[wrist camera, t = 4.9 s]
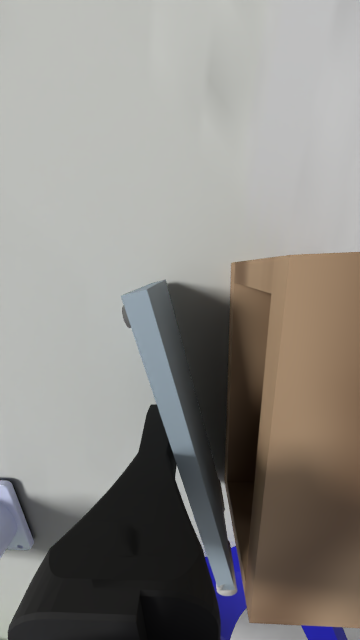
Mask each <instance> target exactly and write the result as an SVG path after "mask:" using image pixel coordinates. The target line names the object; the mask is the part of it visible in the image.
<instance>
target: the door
mask: <svg viewBox="0 0 360 640" xmlns="http://www.w3.org/2000/svg"><path fill="white" fill-rule="evenodd" d="M121 298H122V301H123V304H124V306H123V308H122V314H123V318H124V321H125V323H126V325H127V326H128V327H129V328H132V331H133V334H134V337H135V340H136V343H137V346H138V349H139V352H140V355H141V358H142V361H143V364H144V367H145V370H146V373H147V376H148V379H149V382H150V385H151V388H152V391H153V394H154V397H155V400H156V403H157V406H158V409H159V412H160V415H161V418H162V421H163V424H164V427H165V430H166V433H167V436H168V439H169V443H170V446H171V449H172V452H173V455H174V458H175V461H176V464H177V467H178V470H179V473H180V476H181V479H182V482H183V485H184V488H185V491H186V494H187V497H188V500H189V503H190V506H191V509H192V512H193V515H194V518H195V521H196V524H197V527H198V530H199V533H200V536H201V539H202V542H203V545H204V548H205V551H206V554H207V557H208V560H209V563H210V566H211V569H212V572H213V575H214V578H215V581H216V588H217V592H218V593H219V594H220V595H223V596H232V595H234V594H236V593H237V585H236V579H235V572H234V566H233V560H232V553H231V547H230V542H229V541H228V539H227V532H226V525H225V518H224V510H225V508H224V502H223V495H222V489H221V482H220V480H219V479H218V476H217V472H216V468H215V464H214V461H213V457H212V453H211V449H210V446H209V442H208V438H207V434H206V430H205V427H204V423H203V419H202V415H201V412H200V408H199V404H198V400H197V396H196V393H195V389H194V385H193V381H192V378H191V374H190V370H189V366H188V362H187V359H186V355H185V351H184V347H183V344H182V340H181V336H180V332H179V328H178V325H177V321H176V317H175V313H174V310H173V306H172V302H171V298H170V294H169V291H168V287H167V283H166V280H163V281H159V282H155V283H151V284H149V285H146V286H144V287H141V288H139V289H136V290H134V291H131V292H129V293H127V294H124V295H122V296H121Z"/></svg>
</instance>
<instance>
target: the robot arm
mask: <svg viewBox="0 0 360 640" xmlns="http://www.w3.org/2000/svg"><path fill="white" fill-rule="evenodd" d="M176 465H177V464H176V461H175V458H174V455H173V452H172V449H171V446H170V443H169V439H168V436H167V433H166V430H165V427H164V424H163V421H162V418H161V415H160V412H159V409H158V406H157V405H151V406H150V408H149V410H148V412H147V416H146V420H145V425H144V430H143V434H142V439H141V444H140V448H139V452H138V454H137V455H136V456H135V458H134V459H133V461H132V462H131V463H130V465H129V466H128V467H127V469H126V470H125V471H124V472H123V474H122V475H121V476H120V477H119V478H118V480H117V481H116V482H115V483H114V485H113V486H112V487H111V488H110V489H109V490H108V491H107V493H106V494H105V495H104V496H103V497H102V498H101V499H100V500H99V501H98V502H97V503H96V504H95V505H94V506H93V507H92V509H91V510H90V511H89V512H88V513H87V514H86V515H85V516H84V517H83V518H82V519H81V520H80V521H79V522H78V523H77V524H76V525H74V526H73V527H72V528H71V529H70V530H69V531H68V532H67V533H66V534H65V535H64V536H63V537H62V538H61V539H60V540H59V541H58V542H57V543H55V544H54V545H53V546H52V547H51V548H50V549H49V551H48V553H47V555H46V556H45V558H44V560H43V562H42V563H41V565H40V567H39V568H38V570H37V572H36V574H35V576H34V577H33V579H32V581H31V583H30V585H29V587H28V589H27V591H26V593H25V595H24V597H23V599H22V601H21V603H20V605H19V607H18V609H17V611H16V613H15V615H14V617H13V619H12V621H11V623H10V625H9V630H8V640H220V637H221V619H220V612H219V606H218V601H217V597H216V593H215V590H214V586H213V583H212V579H211V576H210V573H209V570H208V566H207V563H206V560H205V557H204V553H203V549H202V547H201V544H200V542H199V540H198V538H197V535H196V533H195V531H194V528H193V526H192V524H191V521H190V519H189V516H188V514H187V511H186V509H185V506H184V503H183V501H182V498H181V495H180V492H179V489H178V487H177V484H176V481H175V473H176ZM33 544H34V540H33V538H32V535H31V532H30V530H29V527H28V524H27V522H26V519H25V517H24V514H23V511H22V509H21V506H20V503H19V501H18V498H17V496H16V493H15V490H14V488H13V485H12V483H11V482H9V481H6V480H0V558H1V557H2V555H3V554H4V552H5V551H6V549H7V550H29V549H31V547H32V545H33Z"/></svg>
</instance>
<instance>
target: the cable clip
mask: <svg viewBox="0 0 360 640" xmlns="http://www.w3.org/2000/svg"><path fill="white" fill-rule="evenodd" d="M231 553H232V560H233V566H234V572H235V579H236V585H237V593H236V594H234V595H232V596H223V595H220V594H219V593H218V592H217V588H216V581H215V578H214V575H213V572H212V569H211V566H210V563H209V560H208V557H205V560H206V563H207V566H208V570H209V573H210V576H211V579H212V583H213V586H214V590H215V593H216V597H217V601H218V606H219V612H220V619H221V637H220V640H230V638H231V635H232V631H233V629H234V627H235V624H236V622H237V620H238V619H239V617H240V615H241V614H242V612H243V611H244V610H245V609H246V608H247V605H246V600H245V594H244V588H243V583H242V577H241V571H240V565H239V560H238V554H237V548H236V546H235V547H232V548H231ZM301 626H302V628H303V630H304V632H305V634H306V636H307V638H308V640H347V637H346V635H345V633H344V630H343V628H342V627H326V626H305V625H301Z"/></svg>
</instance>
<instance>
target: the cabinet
mask: <svg viewBox="0 0 360 640" xmlns="http://www.w3.org/2000/svg"><path fill="white" fill-rule="evenodd" d="M224 480H225V486H226V491H227V497H228V503H229V509H230V514H231V520H232V526H233V531H234V537H235V543H236V548H237V554H238V560H239V565H240V571H241V577H242V583H243V588H244V594H245V600H246V605H247V611H248V617H249V622H250V623H264V624H284V625H305V626H326V627H347V628H360V252H348V253H325V254H302V255H287V256H279V257H272V258H264V259H256V260H249V261H241V262H234V263H231V290H230V322H229V353H228V385H227V416H226V448H225V479H224Z"/></svg>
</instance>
